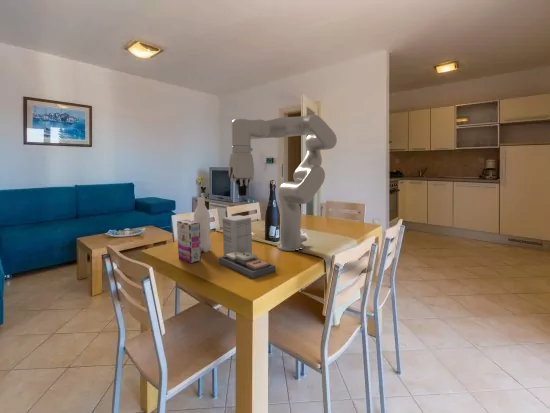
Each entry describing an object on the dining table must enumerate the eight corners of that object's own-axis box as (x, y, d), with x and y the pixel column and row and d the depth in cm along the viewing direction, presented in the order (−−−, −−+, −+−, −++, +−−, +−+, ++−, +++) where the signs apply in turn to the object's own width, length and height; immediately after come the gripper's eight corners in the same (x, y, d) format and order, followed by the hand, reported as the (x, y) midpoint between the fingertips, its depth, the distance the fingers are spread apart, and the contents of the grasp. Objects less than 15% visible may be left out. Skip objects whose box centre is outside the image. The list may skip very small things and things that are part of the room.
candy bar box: (201, 261, 126) (200, 222, 124) (191, 264, 123) (189, 224, 120) (188, 255, 134) (186, 219, 132) (178, 257, 130) (176, 220, 128)
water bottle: (207, 253, 136) (205, 198, 132) (192, 253, 137) (189, 198, 134) (213, 249, 143) (211, 196, 139) (199, 248, 144) (197, 196, 140)
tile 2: (247, 258, 122) (247, 251, 122) (256, 261, 118) (256, 254, 117) (235, 261, 118) (235, 254, 118) (244, 265, 114) (244, 257, 113)
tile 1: (237, 257, 127) (237, 251, 127) (246, 260, 123) (246, 254, 123) (225, 260, 124) (225, 253, 123) (233, 264, 119) (233, 257, 119)
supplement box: (240, 250, 141) (239, 214, 139) (252, 254, 135) (252, 217, 132) (222, 254, 135) (221, 217, 132) (235, 259, 128) (234, 220, 126)
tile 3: (258, 265, 117) (258, 258, 117) (268, 269, 113) (268, 262, 112) (245, 269, 113) (245, 262, 113) (255, 273, 109) (255, 266, 108)
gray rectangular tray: (240, 257, 130) (240, 252, 130) (275, 271, 113) (275, 265, 113) (219, 263, 123) (219, 257, 123) (252, 279, 106) (252, 272, 106)
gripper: (250, 151, 131) (251, 193, 133) (220, 150, 121) (222, 196, 124) (261, 150, 125) (262, 194, 128) (231, 149, 115) (232, 197, 118)
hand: (242, 195), depth 126 cm, fingers closed
